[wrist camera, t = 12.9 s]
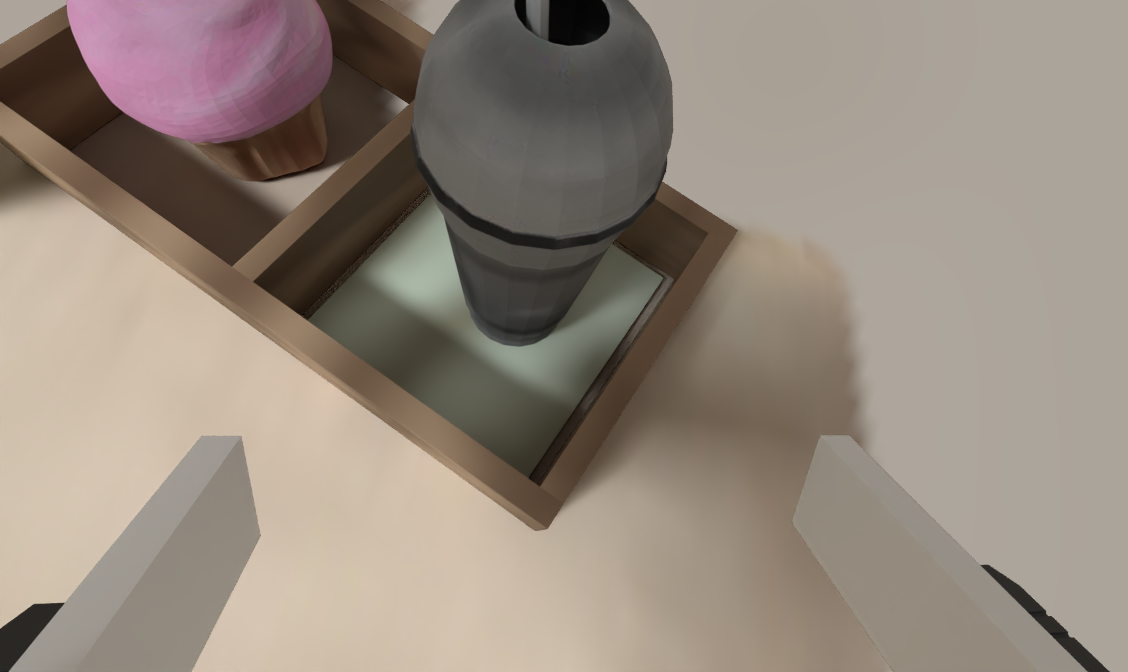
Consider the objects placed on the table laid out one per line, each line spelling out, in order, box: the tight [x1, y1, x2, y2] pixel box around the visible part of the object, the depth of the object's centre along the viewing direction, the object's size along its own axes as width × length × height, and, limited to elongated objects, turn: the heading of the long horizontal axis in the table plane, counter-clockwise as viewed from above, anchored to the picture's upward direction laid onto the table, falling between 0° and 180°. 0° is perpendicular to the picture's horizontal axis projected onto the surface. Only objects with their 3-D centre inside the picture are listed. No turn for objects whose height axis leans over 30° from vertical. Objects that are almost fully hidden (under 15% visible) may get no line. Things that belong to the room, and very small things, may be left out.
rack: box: [0, 0, 738, 531], centre depth 25 cm, size 29×15×4 cm, turn 56°
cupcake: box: [67, 0, 333, 181], centre depth 23 cm, size 9×9×10 cm
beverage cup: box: [410, 0, 673, 347], centre depth 17 cm, size 7×7×20 cm
